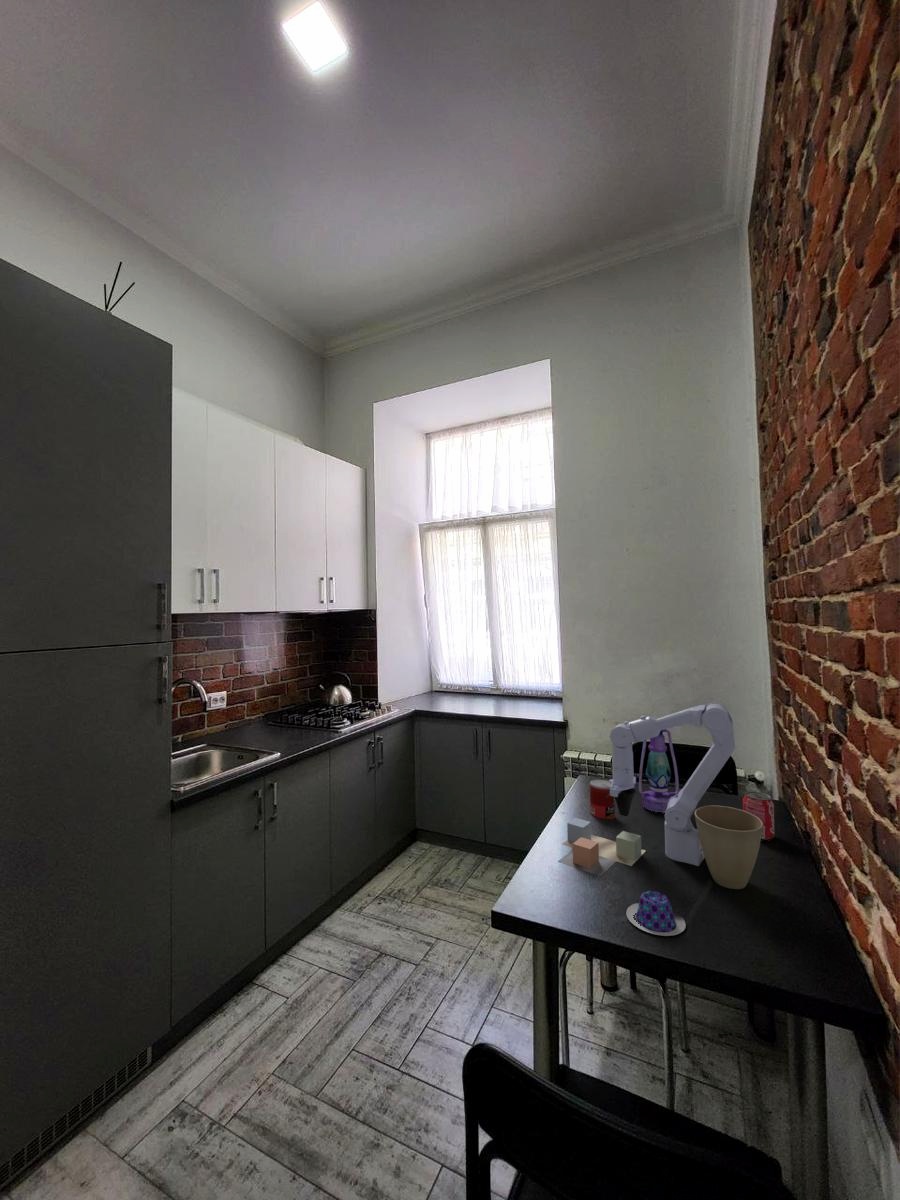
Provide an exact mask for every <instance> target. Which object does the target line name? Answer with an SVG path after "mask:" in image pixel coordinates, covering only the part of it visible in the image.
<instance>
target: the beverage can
mask: <svg viewBox="0 0 900 1200" xmlns="http://www.w3.org/2000/svg"><path fill="white" fill-rule="evenodd" d="M774 806H775V805H774V802H773V801H772V798H771V796H770V795H769V794H767V793H763V792H758V791H746V792H745V793H744V797H743V798H742V810H743V811H746V812H748V813H751V814H753V815H755V816H756V817H758V818H759V819H760V820H761V821H762V823H763V828H762V835H761V839H771V838H772V839H774V838H775V836H776V835H775V809H774V808H775V807H774ZM772 839H771V840H772Z"/></svg>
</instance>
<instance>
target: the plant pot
mask: <svg viewBox="0 0 900 1200" xmlns="http://www.w3.org/2000/svg"><path fill="white" fill-rule="evenodd" d="M694 818H695V824H696V829H697V830H698V835H699V839H700V843H701V847H702V850H703V853H704V859H705V862H706V864H707V867H708V871H709V873H710V875H711V877H712V880H713V881H714V882H715V883H716V884H717V885H719V886H721V887H724V888H727V889H731V890H741V889H744V888H746V886H748V882H749V880H750V877H752V873H753V870H754V867H755V864H756V861H757V858H758V853H759V850H760V847H761V841H762V840H761V835H762V828H763V823H762V821H761V820H760V819H759V818H758V817H756V816H755V815H753V814H751V813H748V812H746V811H743V809H740V808H739V809H738V808H735V807H731V806H723V805H703V806H701V807H698V808H695V810H694Z"/></svg>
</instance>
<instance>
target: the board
mask: <svg viewBox="0 0 900 1200" xmlns="http://www.w3.org/2000/svg"><path fill="white" fill-rule="evenodd" d="M591 840H592V841H595V842H599V862H598V863H597V864H595V865H594V866H593V867H592V868H591V869H590V868H587V867H584V866H581V865H578V864H575V863H573V849H571V850H570V851H569V852H568V853H567V854H565V855H564V856H562V857H561V858H560V859H559V860H557V863H560V864H563V865H566V866H569V867H572V868H575V869H577V870H581V871H583V872H586V873H589V874H591V875H596V876H598V877H602V876H603V875H604V874H605V873H606V872H607V871H609V869H610V868H611V867H612V866H614V864H615V863H616V862H617V863H619V864H623V865H627V866H629V867H632V866H633V865H634V864H635V863H636V862H637V861H638V860H639V859H640V858H641V857H642V856H643V855H644V854H645V852H647V851H646V850H645V849H642V848H641V855H640V856H639V857H638V858H637V859H636V861H632V860H629V859H626V858H622V857H619V856H616V840H615V841H614V840H611V839H608V838H604V837H601V836H597V835H595V834H591ZM573 843H574V842H571V841H568V839H567V840H565V841H564V842H562V845H565V846H568V847H571V848H573Z"/></svg>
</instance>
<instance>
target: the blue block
mask: <svg viewBox="0 0 900 1200" xmlns="http://www.w3.org/2000/svg"><path fill="white" fill-rule="evenodd" d="M566 824H567V825H566V826H567V830H566V832H567V840H568V841H571V842H575V841H577V840H578V839H579V838H581V837H582V838H586V839H589V840H591V835H592V821H588V820H585V819H581V818H578V817H574V818H572V819H571V820H569V821H568V822H567V823H566Z"/></svg>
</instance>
